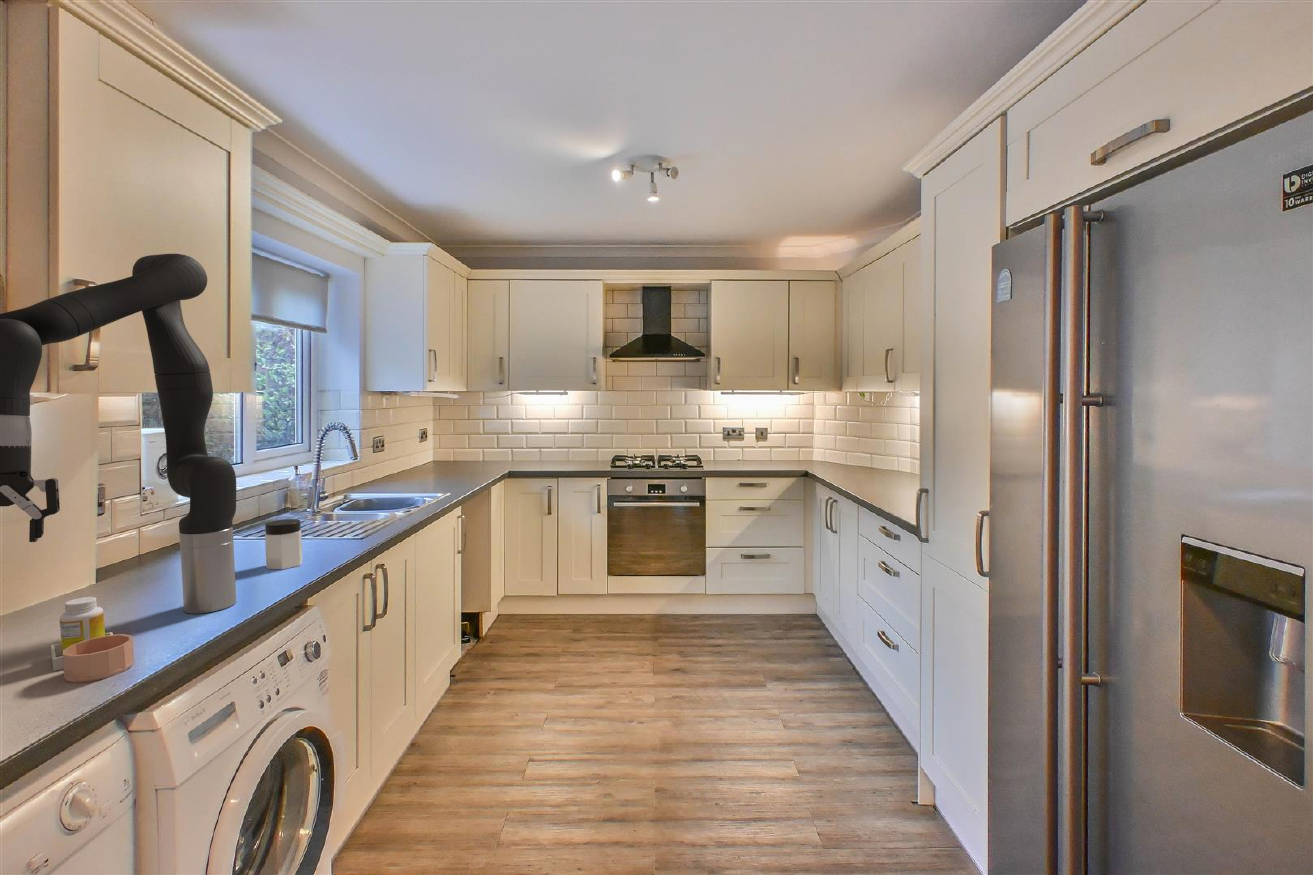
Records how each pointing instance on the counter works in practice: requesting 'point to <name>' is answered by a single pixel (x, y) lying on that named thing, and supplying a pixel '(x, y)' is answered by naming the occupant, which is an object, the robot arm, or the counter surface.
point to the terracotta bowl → (98, 658)
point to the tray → (57, 651)
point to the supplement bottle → (81, 621)
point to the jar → (283, 544)
